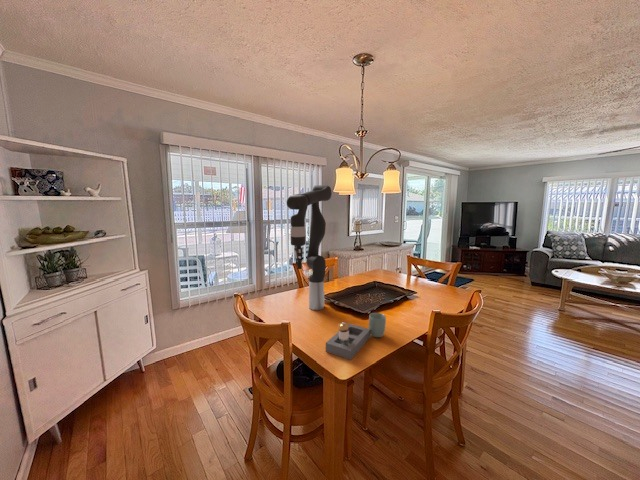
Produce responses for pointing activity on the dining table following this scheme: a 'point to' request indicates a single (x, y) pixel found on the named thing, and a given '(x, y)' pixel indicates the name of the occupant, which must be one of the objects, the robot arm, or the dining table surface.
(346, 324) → the glass bottle
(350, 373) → the dining table surface
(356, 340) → the rack
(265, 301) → the dining table surface
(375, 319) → the cup
